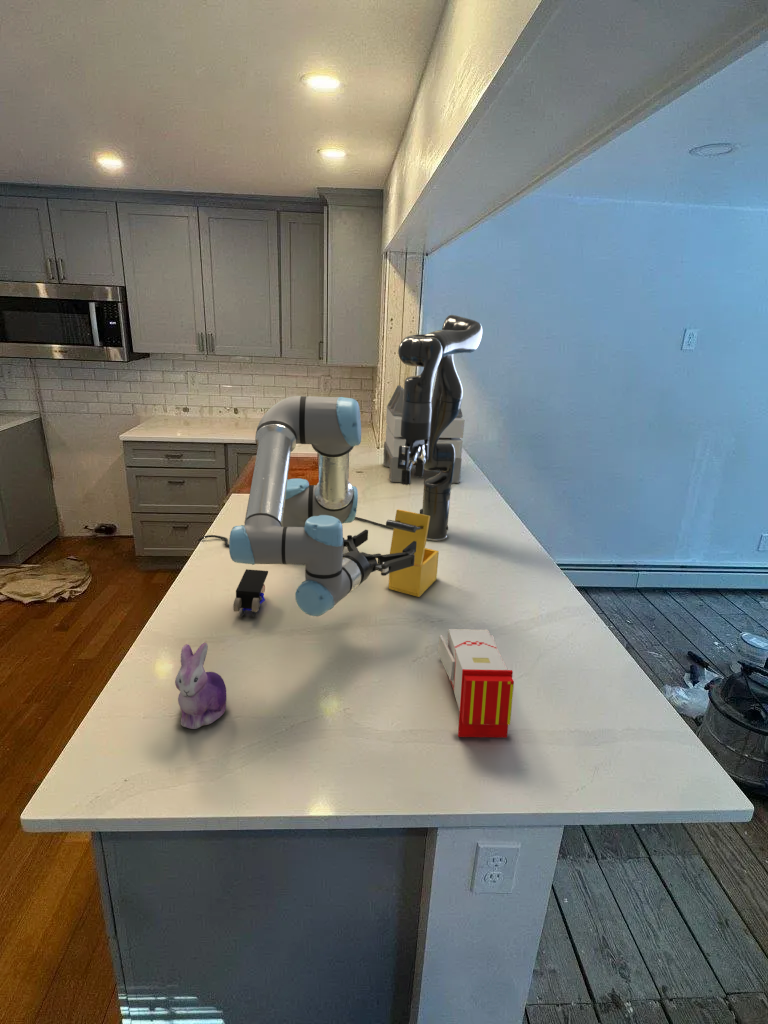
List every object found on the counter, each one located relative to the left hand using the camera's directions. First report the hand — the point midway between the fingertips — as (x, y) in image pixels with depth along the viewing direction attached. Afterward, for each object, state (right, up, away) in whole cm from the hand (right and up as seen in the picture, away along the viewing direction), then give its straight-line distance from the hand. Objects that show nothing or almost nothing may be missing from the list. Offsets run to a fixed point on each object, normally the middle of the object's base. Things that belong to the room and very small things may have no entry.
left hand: (390, 540), depth 143 cm
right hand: (+6, +15, +6) cm, 18 cm away
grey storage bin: (+16, +26, +132) cm, 135 cm away
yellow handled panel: (+6, 0, +12) cm, 13 cm away
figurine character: (-36, -18, +5) cm, 40 cm away
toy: (+16, -31, -24) cm, 42 cm away
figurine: (-36, -32, -34) cm, 59 cm away
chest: (+7, -14, +21) cm, 26 cm away
